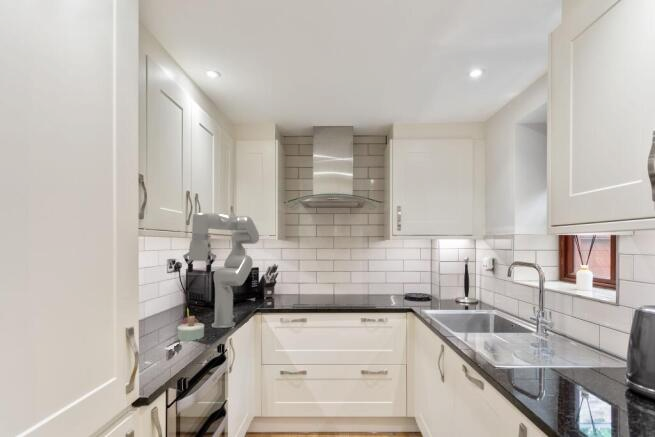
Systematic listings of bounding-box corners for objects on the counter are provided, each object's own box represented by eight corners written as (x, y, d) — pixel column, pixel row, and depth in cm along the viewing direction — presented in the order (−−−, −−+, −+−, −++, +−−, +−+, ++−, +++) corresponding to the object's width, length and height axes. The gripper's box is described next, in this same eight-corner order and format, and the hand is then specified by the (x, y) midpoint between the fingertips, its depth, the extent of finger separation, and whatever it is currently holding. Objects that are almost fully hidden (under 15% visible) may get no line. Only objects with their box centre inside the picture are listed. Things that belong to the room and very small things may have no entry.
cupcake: (176, 331, 184) (177, 308, 185) (191, 328, 191) (191, 305, 192) (187, 334, 179) (187, 310, 180) (201, 330, 186) (202, 307, 187)
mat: (176, 343, 163) (176, 342, 163) (196, 345, 162) (197, 343, 162) (163, 350, 154) (163, 349, 154) (184, 351, 152) (184, 350, 152)
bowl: (186, 334, 178) (186, 324, 179) (207, 335, 177) (207, 325, 177) (173, 341, 167) (173, 330, 168) (195, 342, 166) (195, 331, 166)
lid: (186, 324, 179) (186, 313, 180) (208, 325, 177) (209, 314, 177) (172, 330, 168) (172, 318, 168) (195, 331, 165) (195, 319, 166)
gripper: (220, 237, 179) (219, 272, 178) (188, 237, 182) (187, 271, 181) (212, 237, 172) (211, 273, 171) (179, 237, 175) (178, 272, 174)
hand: (199, 272), depth 176 cm, fingers open, 9 cm apart
